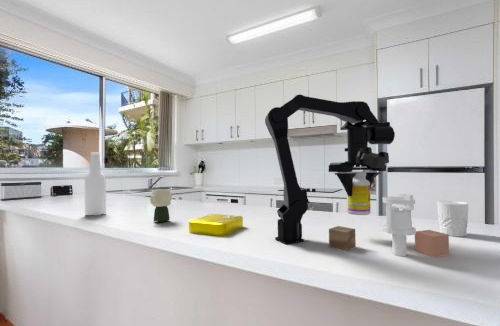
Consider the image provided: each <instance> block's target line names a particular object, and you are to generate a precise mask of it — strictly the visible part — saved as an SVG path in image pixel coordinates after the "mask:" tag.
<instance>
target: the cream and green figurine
mask: <svg viewBox="0 0 500 326" xmlns="http://www.w3.org/2000/svg"><path fill="white" fill-rule="evenodd" d="M151 194H152V195H150V197H149V198H150V200H149V201H150V204H151V205H152V206H154V207H155V208H154V213H153V214H154V215H153V222H158V223H160V222H167V221H168V222H169V221H170V212H169V208H168V206H170V205H171V201H172V196H173V195H172V193H171V189H165V188H164V189H153V190H152V191H151ZM159 221H160V222H159Z"/></svg>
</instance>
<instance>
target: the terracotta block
mask: <svg viewBox="0 0 500 326" xmlns="http://www.w3.org/2000/svg"><path fill="white" fill-rule="evenodd" d="M449 241H450V238H449V234H444V233H440V231H435V230H432V229H426V230H416V234H415V235H414V251H416V252H418V253H420V254H425V255H427V256H430V257H433V258H435V257H436V258H437V257H444V256H449V255H450V243H449Z"/></svg>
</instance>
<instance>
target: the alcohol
mask: <svg viewBox="0 0 500 326" xmlns="http://www.w3.org/2000/svg"><path fill="white" fill-rule="evenodd" d="M100 154H101V153H100V152H95V151H94V152H90V160H89V161H90V162H89V171H88V172H87V174H85V176H84V215H85V216H86V215H98V216H101V215H100V214H103V215H105V214H106V213H107V193H106V191H107V189H106V188H107V183H106V182H107V181H106V175H105V174H104V173H103V171H102V168H101V158H100V156H101V155H100ZM104 213H105V214H104Z"/></svg>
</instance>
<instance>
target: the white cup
mask: <svg viewBox="0 0 500 326" xmlns="http://www.w3.org/2000/svg"><path fill="white" fill-rule="evenodd" d="M436 207H437V208H436V209H437V220H438V226H439V232H440V233H444V234H449V236H450V237H456V238H457V237H458V238H459V237H460V238H462V237H467V231H468V229H467V228H468V223H469V222H468V219H469V203H468V202H463V201H457V200H456V201H455V200H454V201H453V200H439V201H436Z"/></svg>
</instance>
